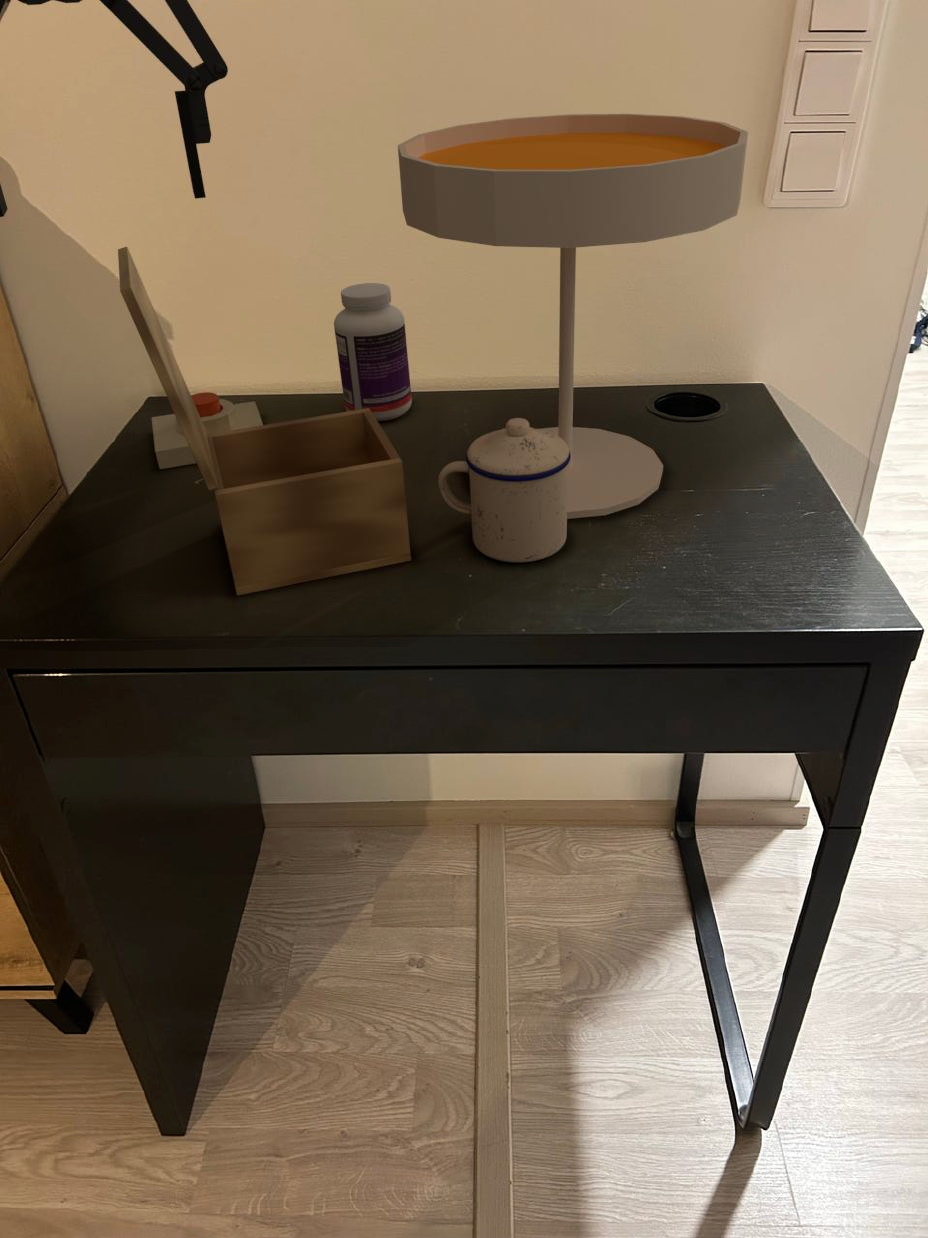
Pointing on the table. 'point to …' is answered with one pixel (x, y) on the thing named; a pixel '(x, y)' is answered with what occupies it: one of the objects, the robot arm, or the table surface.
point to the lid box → (309, 499)
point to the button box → (231, 417)
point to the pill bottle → (372, 352)
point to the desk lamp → (577, 228)
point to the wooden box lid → (165, 364)
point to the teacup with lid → (514, 492)
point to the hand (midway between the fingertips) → (101, 204)
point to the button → (206, 403)
